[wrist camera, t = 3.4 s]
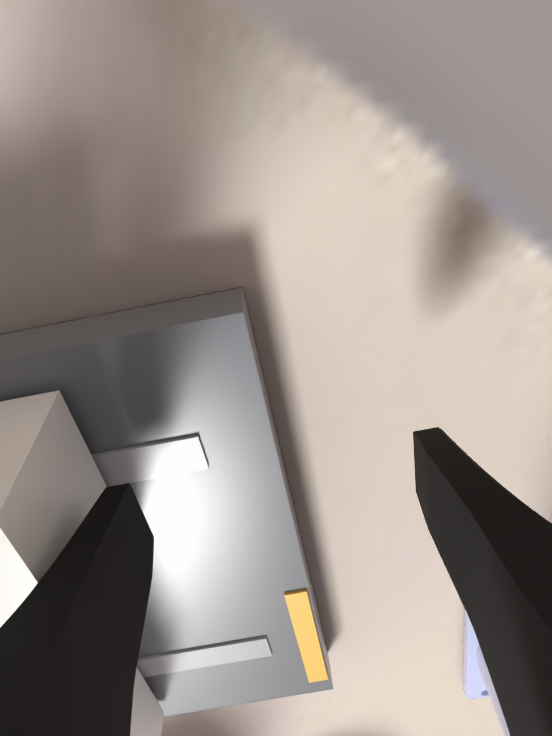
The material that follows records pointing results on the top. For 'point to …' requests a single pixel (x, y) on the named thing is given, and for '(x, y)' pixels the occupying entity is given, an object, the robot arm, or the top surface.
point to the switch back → (145, 710)
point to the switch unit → (191, 491)
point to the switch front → (39, 490)
